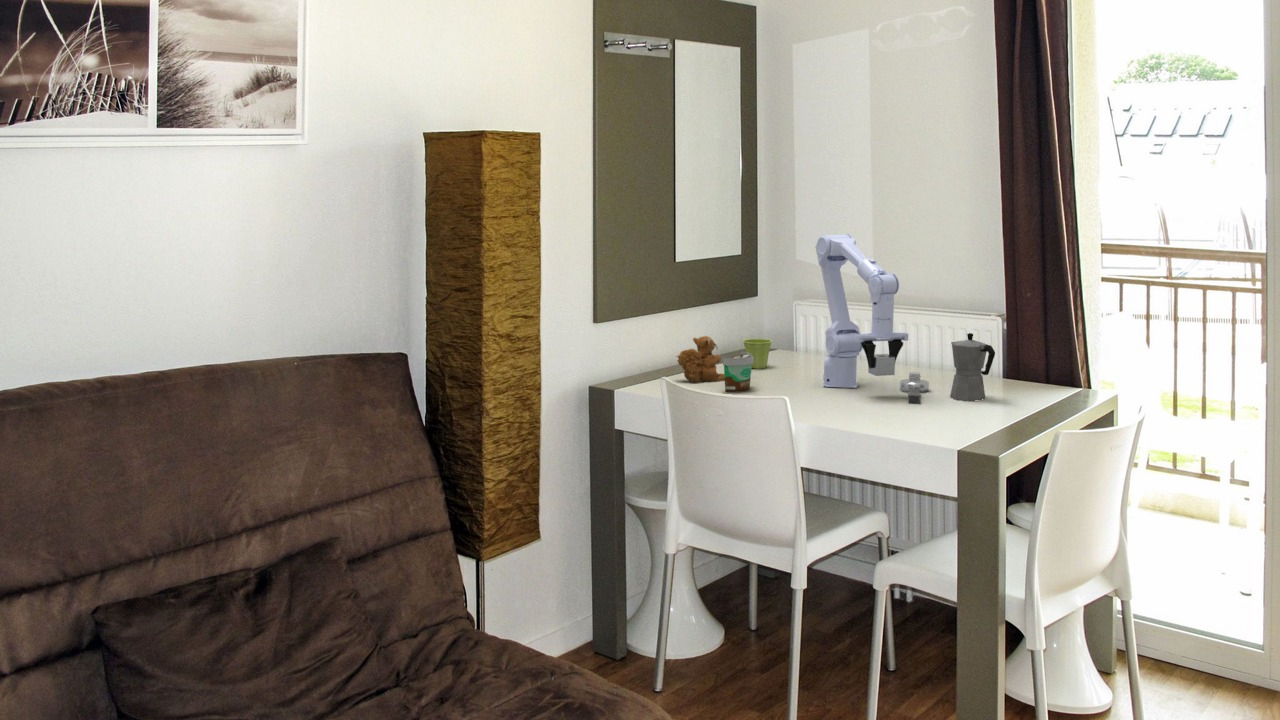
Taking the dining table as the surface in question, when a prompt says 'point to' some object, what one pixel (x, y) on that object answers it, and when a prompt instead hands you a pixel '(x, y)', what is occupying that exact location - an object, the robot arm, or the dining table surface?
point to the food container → (738, 372)
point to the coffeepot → (970, 368)
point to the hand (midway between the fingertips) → (881, 367)
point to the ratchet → (914, 386)
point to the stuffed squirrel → (700, 361)
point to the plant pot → (758, 351)
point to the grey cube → (883, 365)
